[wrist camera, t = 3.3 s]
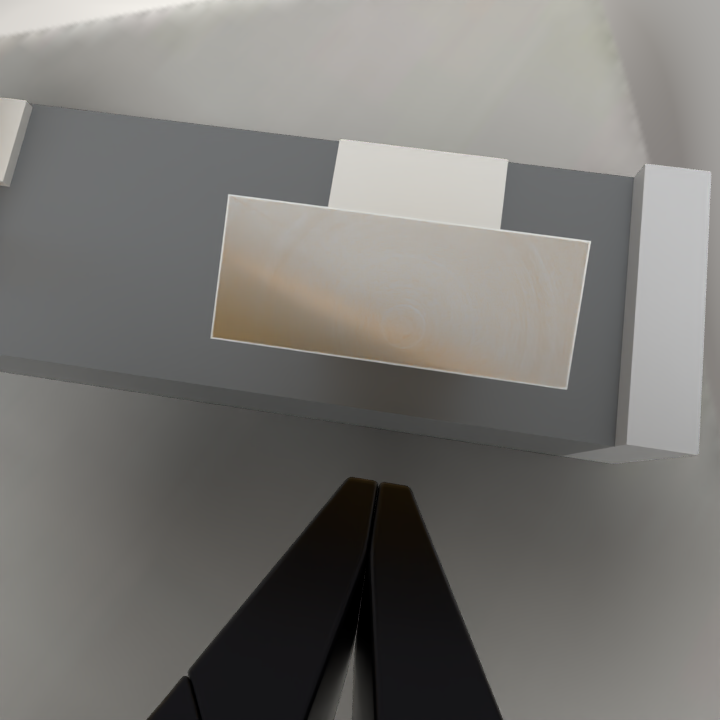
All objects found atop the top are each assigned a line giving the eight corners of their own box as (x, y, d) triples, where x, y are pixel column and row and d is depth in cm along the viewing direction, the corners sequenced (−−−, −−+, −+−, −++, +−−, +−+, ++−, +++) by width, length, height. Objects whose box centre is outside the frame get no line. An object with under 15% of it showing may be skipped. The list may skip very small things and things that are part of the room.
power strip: (613, 464, 19) (698, 455, 14) (-184, 343, 21) (-370, 296, 15) (628, 251, 20) (711, 171, 15) (-120, 153, 22) (-272, 52, 17)
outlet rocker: (478, 355, 15) (566, 389, 7) (312, 332, 15) (210, 338, 7) (489, 287, 15) (591, 241, 7) (321, 264, 15) (228, 193, 7)
